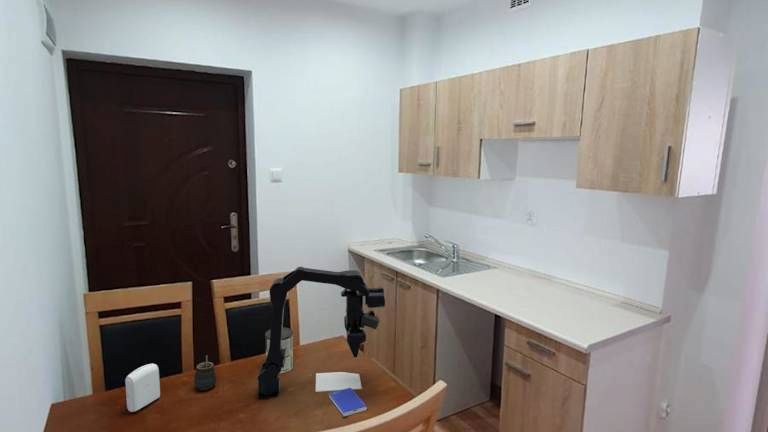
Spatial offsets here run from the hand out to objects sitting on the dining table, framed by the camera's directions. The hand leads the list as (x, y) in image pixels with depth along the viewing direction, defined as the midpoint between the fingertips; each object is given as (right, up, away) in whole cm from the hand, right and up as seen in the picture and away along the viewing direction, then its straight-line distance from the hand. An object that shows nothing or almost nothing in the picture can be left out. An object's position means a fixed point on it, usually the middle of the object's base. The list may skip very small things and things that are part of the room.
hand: (354, 351), depth 145 cm
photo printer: (-68, -14, -10) cm, 70 cm away
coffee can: (-30, -12, +16) cm, 36 cm away
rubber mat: (-6, -13, +6) cm, 16 cm away
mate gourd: (-52, -13, +1) cm, 54 cm away
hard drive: (-5, -13, -3) cm, 14 cm away
